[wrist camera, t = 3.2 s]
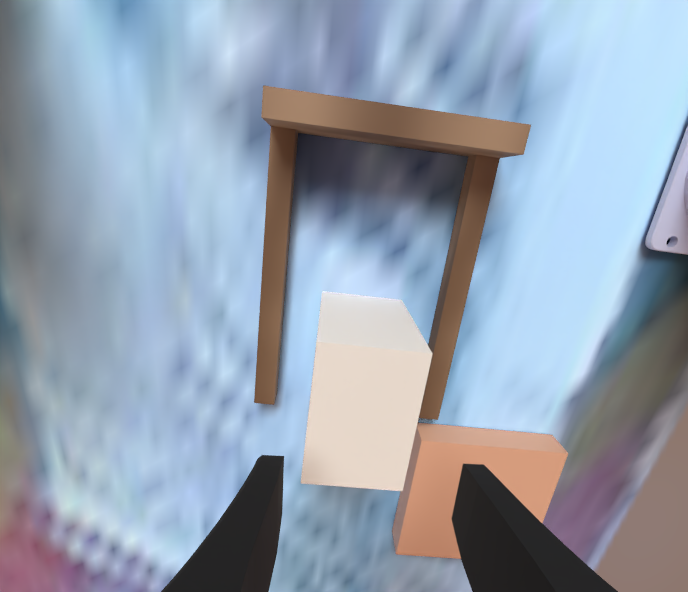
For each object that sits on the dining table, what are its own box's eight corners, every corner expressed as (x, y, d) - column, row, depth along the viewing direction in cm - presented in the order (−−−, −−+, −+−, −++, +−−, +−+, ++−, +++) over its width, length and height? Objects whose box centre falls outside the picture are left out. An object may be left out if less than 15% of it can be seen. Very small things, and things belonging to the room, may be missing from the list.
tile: (551, 434, 21) (568, 453, 19) (515, 539, 23) (527, 563, 22) (415, 422, 20) (421, 440, 19) (392, 530, 23) (395, 554, 21)
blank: (401, 299, 18) (432, 353, 12) (382, 402, 20) (402, 491, 14) (321, 290, 18) (316, 341, 12) (310, 395, 20) (300, 483, 14)
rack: (495, 135, 16) (530, 124, 13) (432, 408, 20) (449, 446, 17) (276, 103, 15) (263, 85, 12) (258, 391, 19) (245, 428, 16)
